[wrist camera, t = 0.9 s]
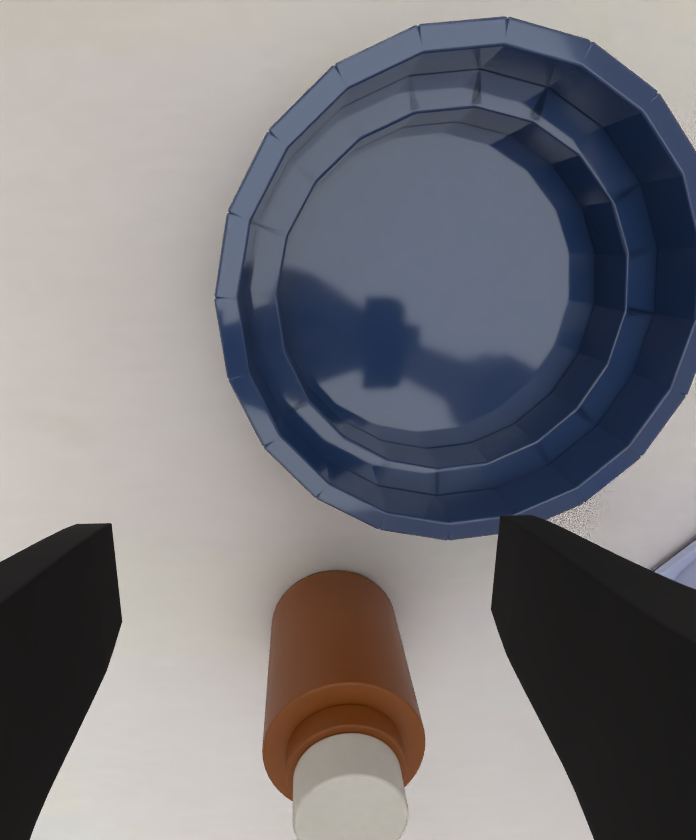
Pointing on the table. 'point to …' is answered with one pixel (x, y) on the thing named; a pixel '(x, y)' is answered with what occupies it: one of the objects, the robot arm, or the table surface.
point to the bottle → (341, 710)
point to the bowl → (463, 278)
